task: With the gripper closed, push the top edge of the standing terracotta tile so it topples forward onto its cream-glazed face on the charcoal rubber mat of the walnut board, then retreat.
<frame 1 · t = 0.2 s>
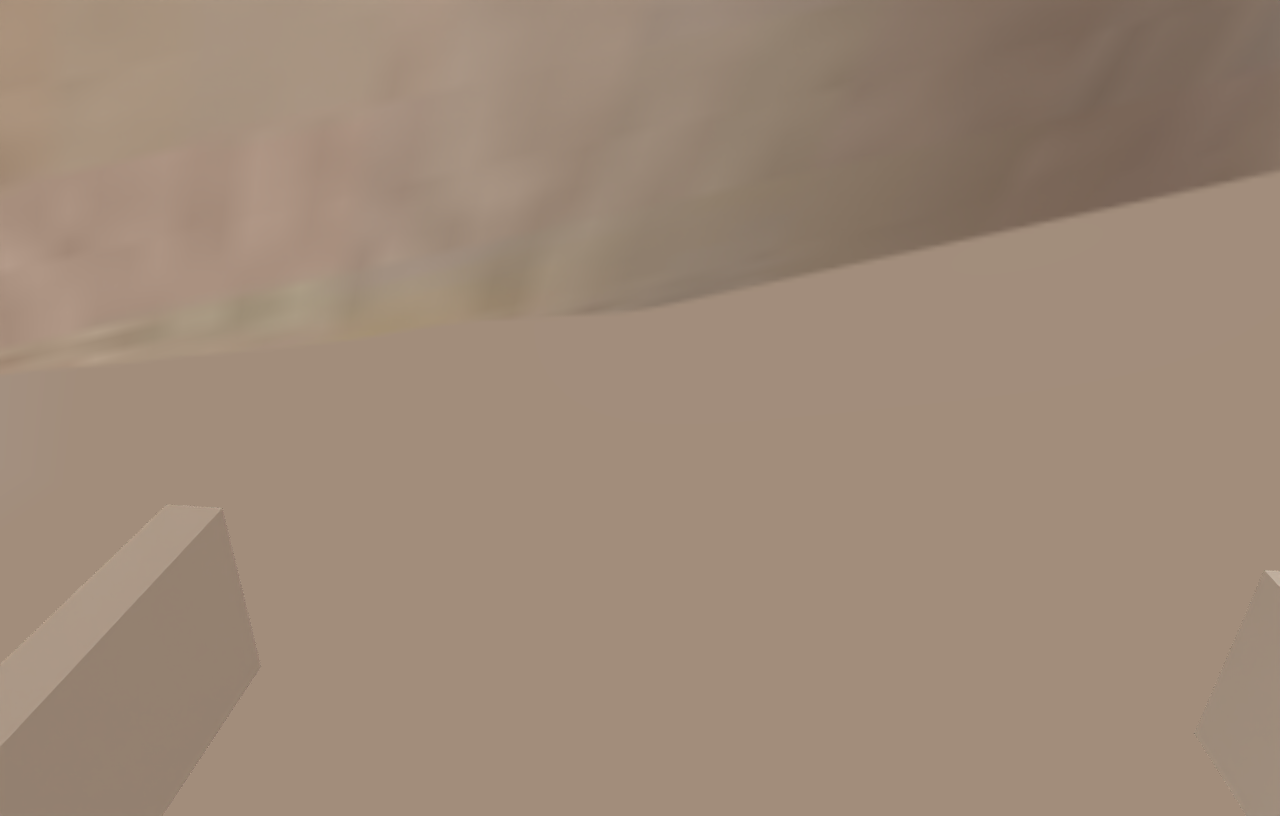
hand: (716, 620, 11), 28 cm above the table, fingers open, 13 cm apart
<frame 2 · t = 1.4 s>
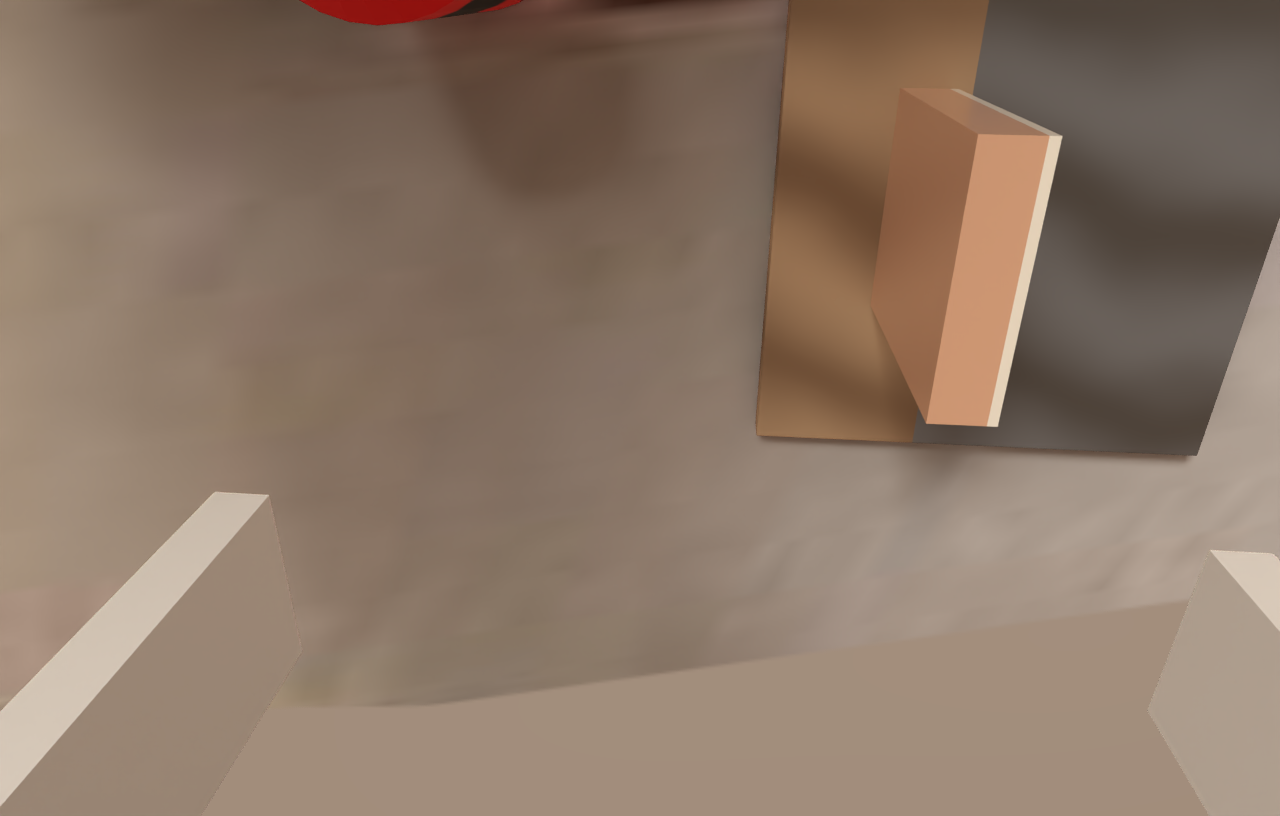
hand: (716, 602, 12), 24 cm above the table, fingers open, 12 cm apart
tile: (912, 203, 32), point 1 cm above the table, touching board
board: (1013, 199, 32), on the table
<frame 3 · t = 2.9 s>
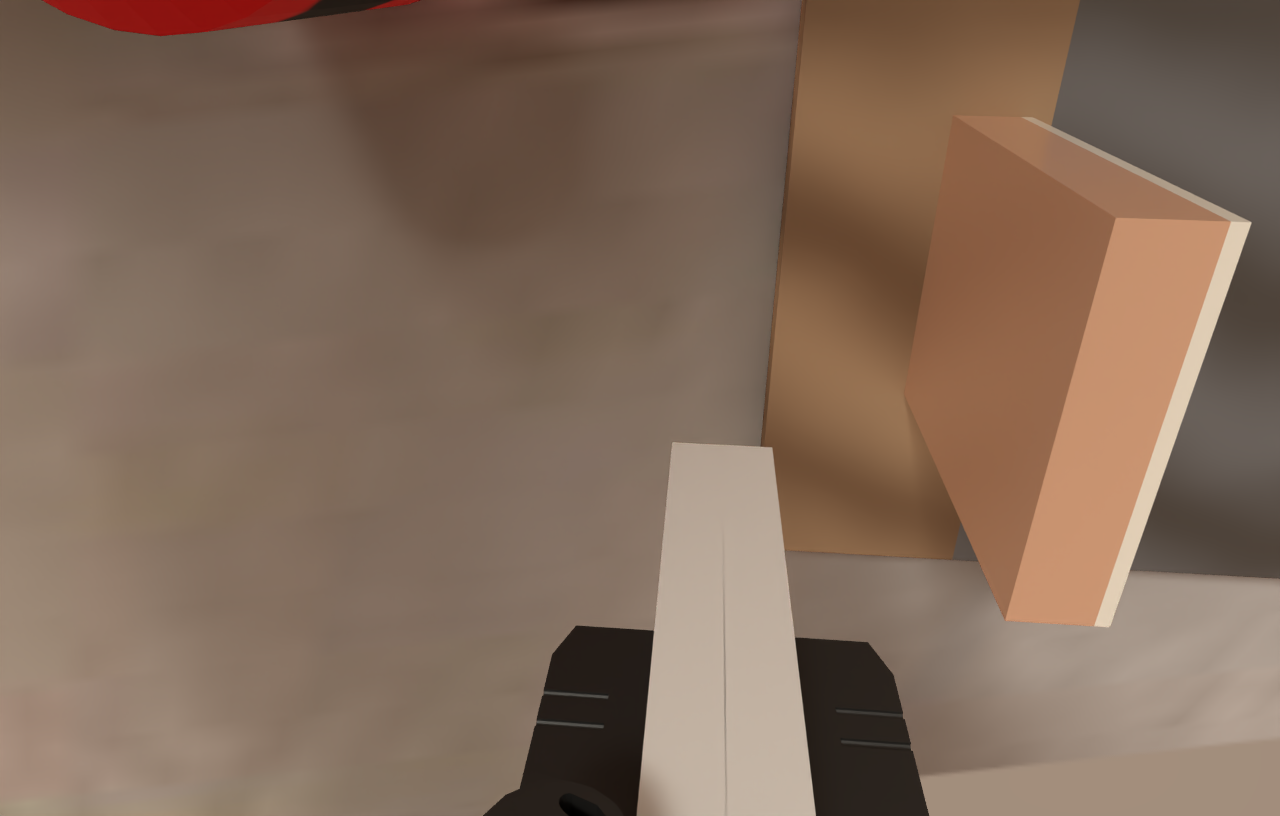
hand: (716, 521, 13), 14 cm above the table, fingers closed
tile: (963, 266, 24), point 1 cm above the table, touching board
board: (1094, 258, 25), on the table
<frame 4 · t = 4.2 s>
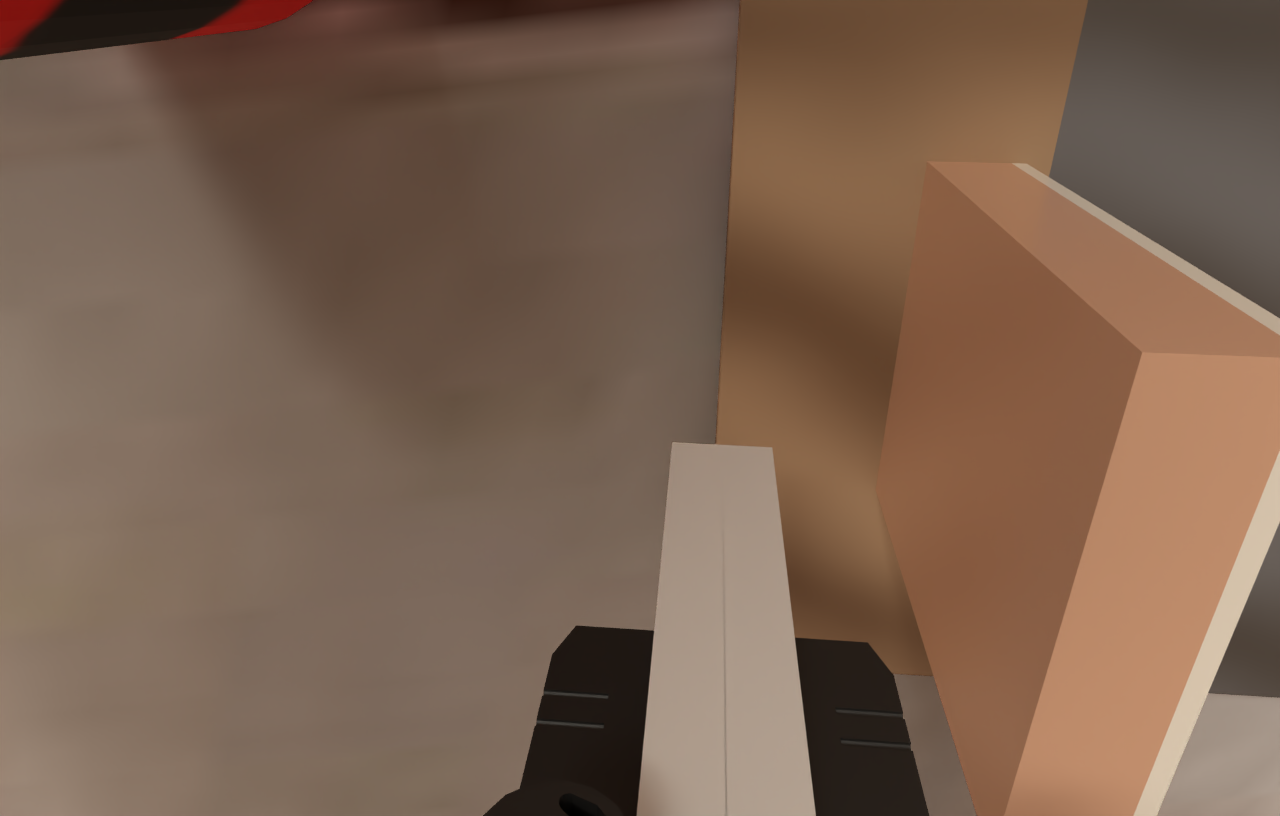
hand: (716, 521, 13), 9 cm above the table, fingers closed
tile: (943, 342, 19), point 1 cm above the table, touching board
board: (1104, 329, 20), on the table
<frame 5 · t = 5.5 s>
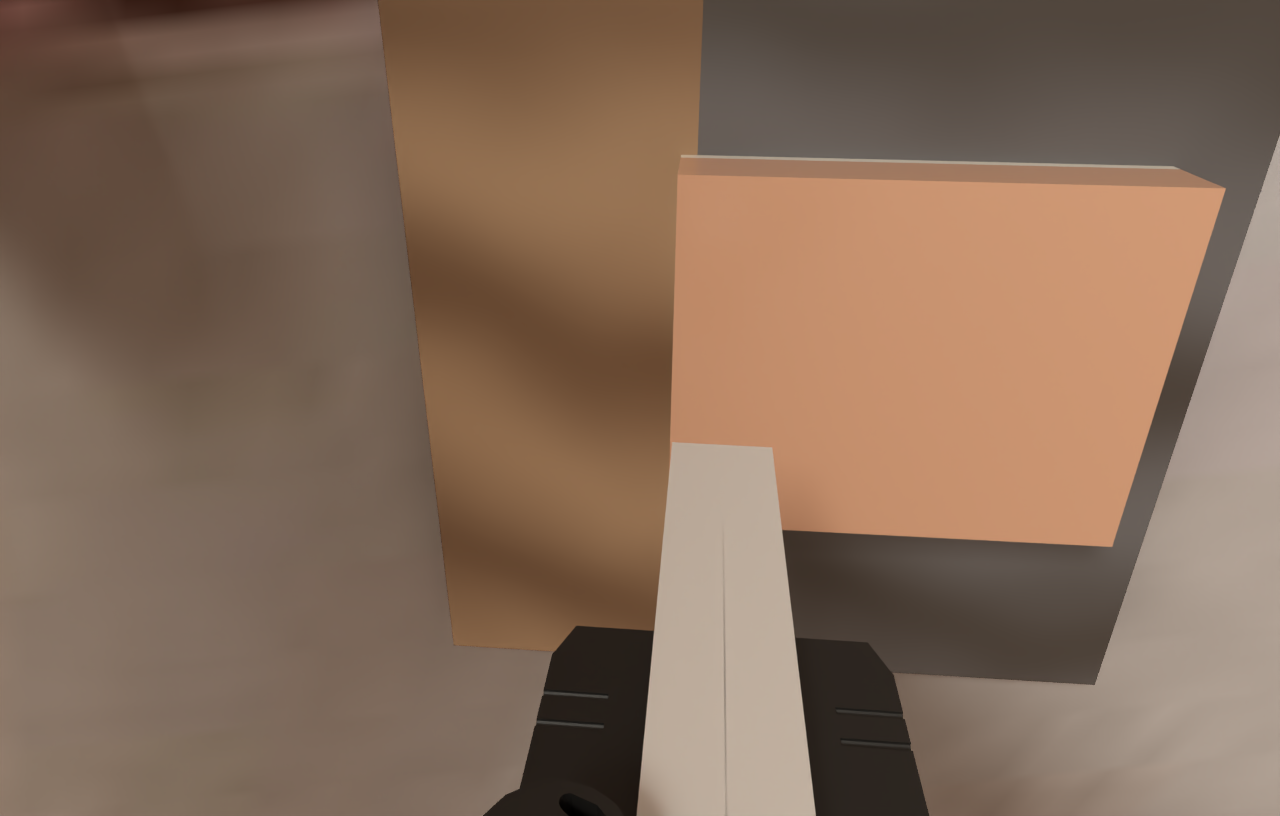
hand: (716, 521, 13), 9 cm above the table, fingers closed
tile: (674, 348, 19), point 2 cm above the table, tilted 90°, touching board
board: (795, 317, 21), on the table
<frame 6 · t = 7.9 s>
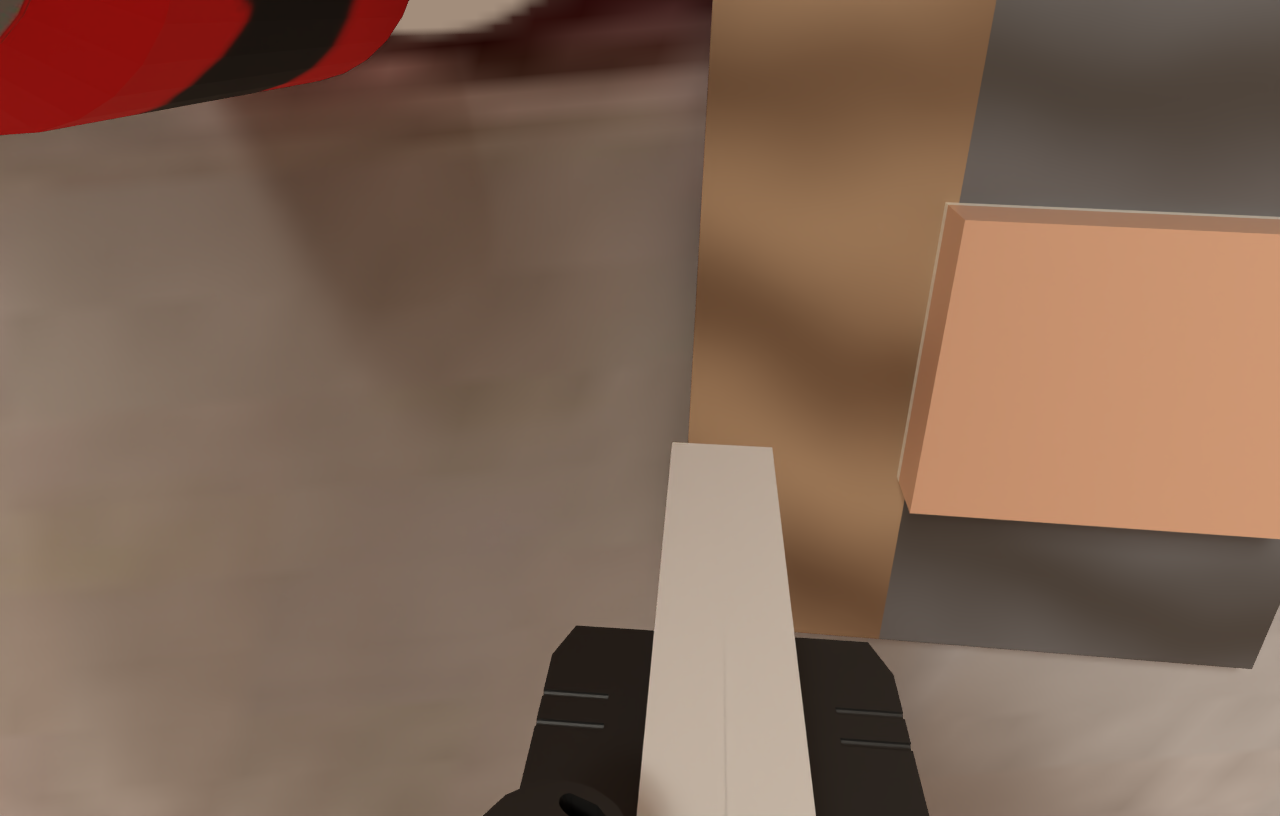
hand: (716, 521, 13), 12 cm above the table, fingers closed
tile: (926, 363, 22), point 2 cm above the table, tilted 90°, touching board
board: (1012, 339, 24), on the table
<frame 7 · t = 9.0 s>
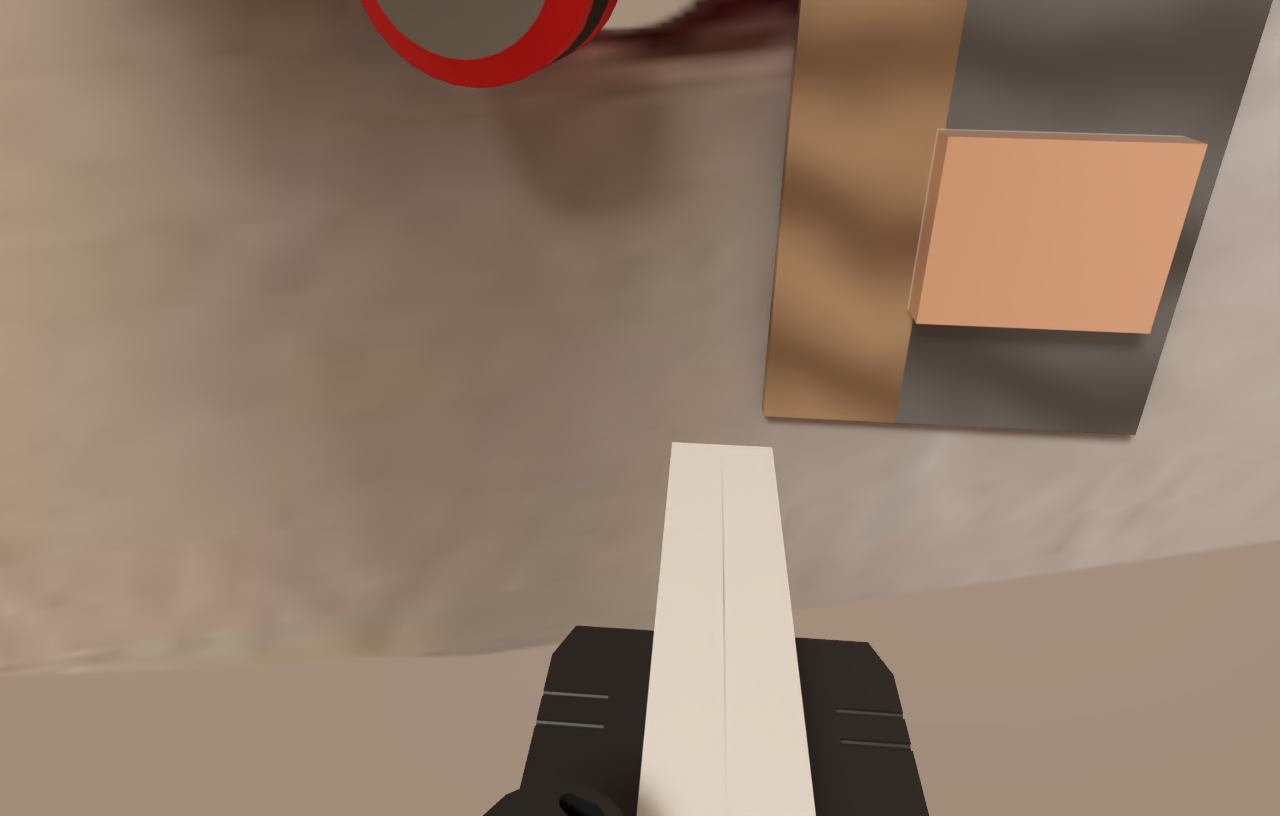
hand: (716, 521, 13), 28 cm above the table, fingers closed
tile: (926, 228, 37), point 2 cm above the table, tilted 90°, touching board
board: (979, 218, 39), on the table
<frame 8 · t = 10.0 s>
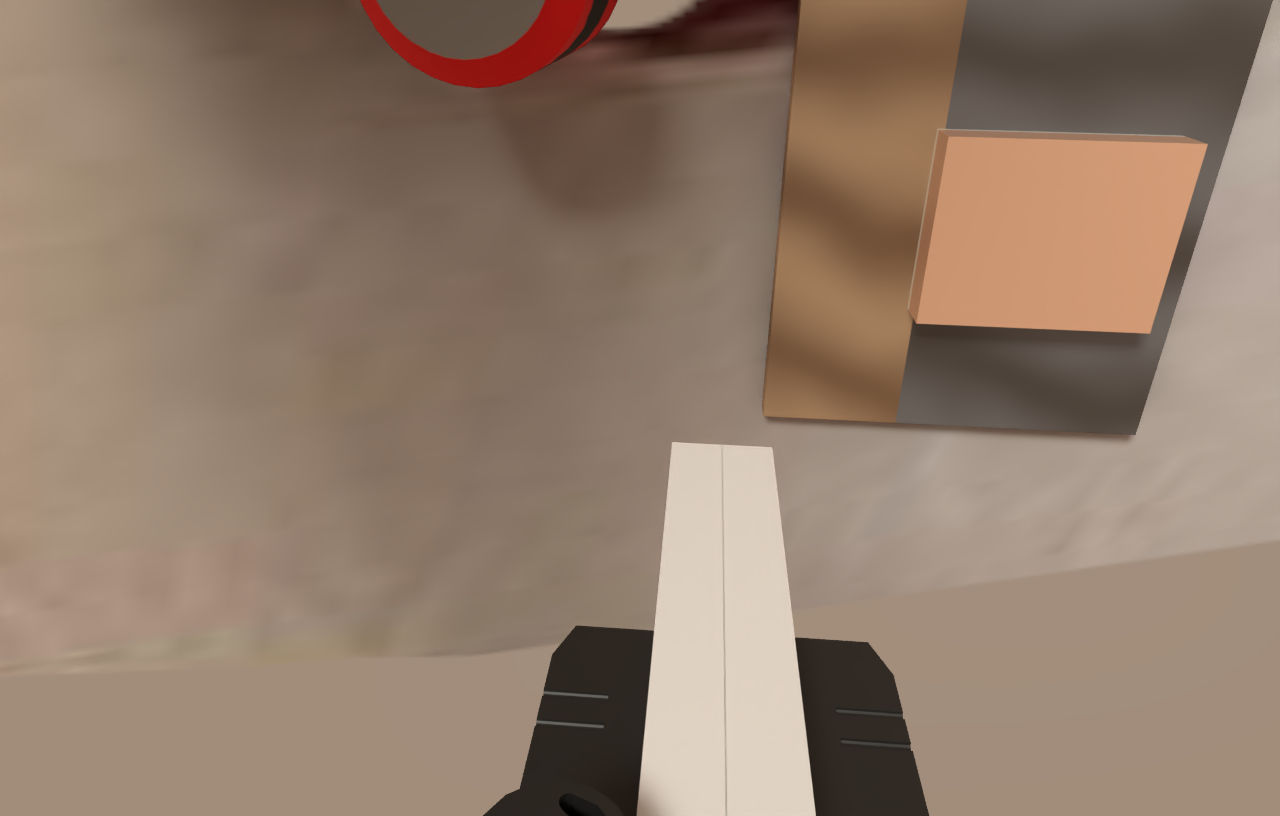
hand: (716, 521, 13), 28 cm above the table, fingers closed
tile: (926, 228, 37), point 2 cm above the table, tilted 90°, touching board
board: (979, 218, 39), on the table
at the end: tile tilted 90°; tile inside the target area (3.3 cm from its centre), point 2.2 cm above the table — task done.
